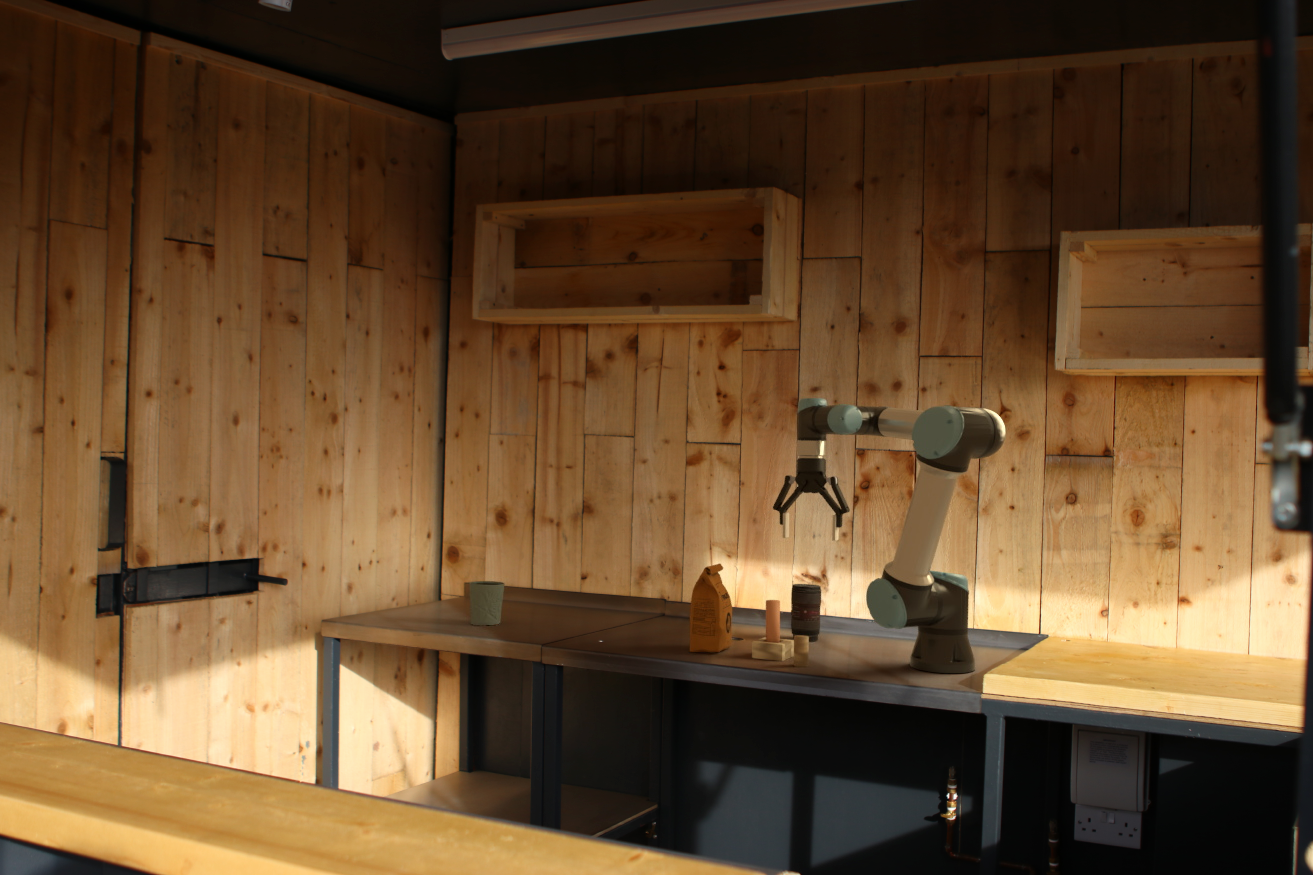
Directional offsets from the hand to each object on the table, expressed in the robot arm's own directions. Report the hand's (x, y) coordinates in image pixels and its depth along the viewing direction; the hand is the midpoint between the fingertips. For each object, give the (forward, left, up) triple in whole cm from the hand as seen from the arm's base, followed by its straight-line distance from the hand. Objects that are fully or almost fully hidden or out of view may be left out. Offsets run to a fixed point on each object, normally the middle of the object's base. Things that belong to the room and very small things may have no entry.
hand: (810, 539), depth 290 cm
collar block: (+4, +15, -29) cm, 33 cm away
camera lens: (+6, -14, -29) cm, 33 cm away
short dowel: (-6, +22, -29) cm, 37 cm away
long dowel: (+4, +15, -29) cm, 33 cm away
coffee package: (+21, +15, -29) cm, 39 cm away
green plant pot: (+95, +11, -29) cm, 100 cm away
